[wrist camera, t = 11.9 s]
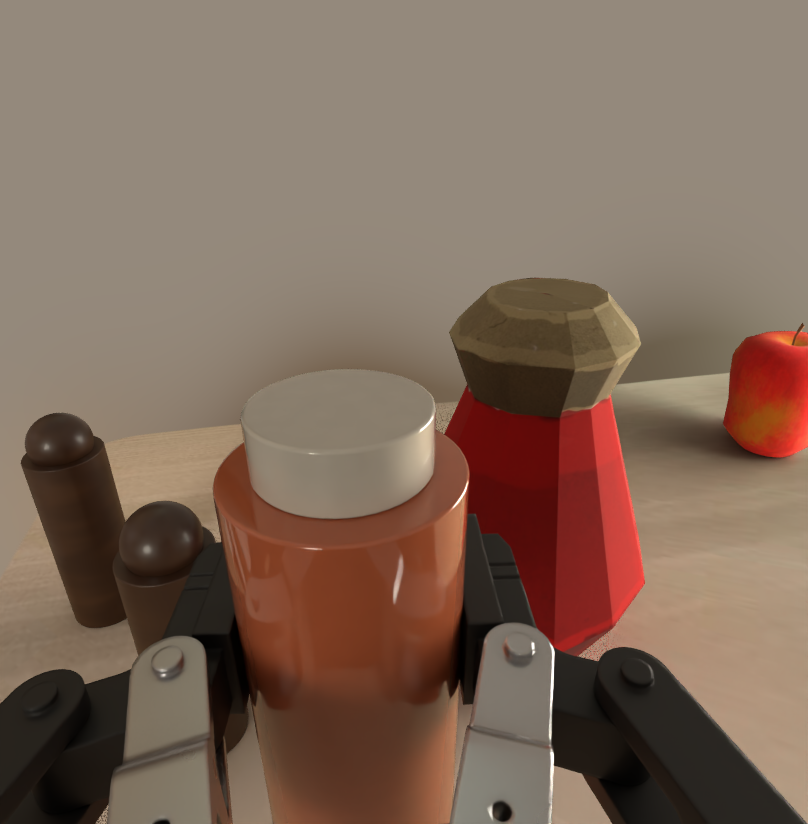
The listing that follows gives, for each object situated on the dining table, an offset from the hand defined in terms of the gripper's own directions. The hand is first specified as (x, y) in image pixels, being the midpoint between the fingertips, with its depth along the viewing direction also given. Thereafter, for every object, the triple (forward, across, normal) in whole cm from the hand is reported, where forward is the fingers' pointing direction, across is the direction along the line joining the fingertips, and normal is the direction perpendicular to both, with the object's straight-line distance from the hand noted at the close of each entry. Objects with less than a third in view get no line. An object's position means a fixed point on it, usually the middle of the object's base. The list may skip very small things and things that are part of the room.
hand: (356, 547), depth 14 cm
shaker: (-3, 0, +6) cm, 7 cm away
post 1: (+17, +17, +17) cm, 29 cm away
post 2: (+8, +8, +17) cm, 21 cm away
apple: (+34, -36, +17) cm, 52 cm away
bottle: (+14, -8, +18) cm, 24 cm away
